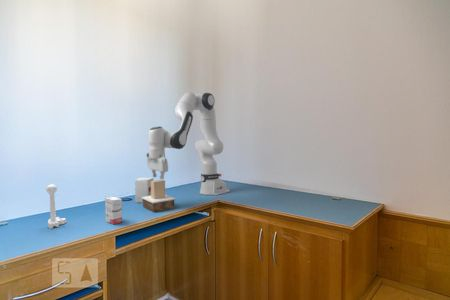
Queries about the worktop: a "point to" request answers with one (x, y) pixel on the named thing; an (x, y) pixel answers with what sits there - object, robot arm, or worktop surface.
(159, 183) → the carton
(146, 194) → the supplement box
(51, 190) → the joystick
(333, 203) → the worktop surface
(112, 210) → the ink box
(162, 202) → the podium
